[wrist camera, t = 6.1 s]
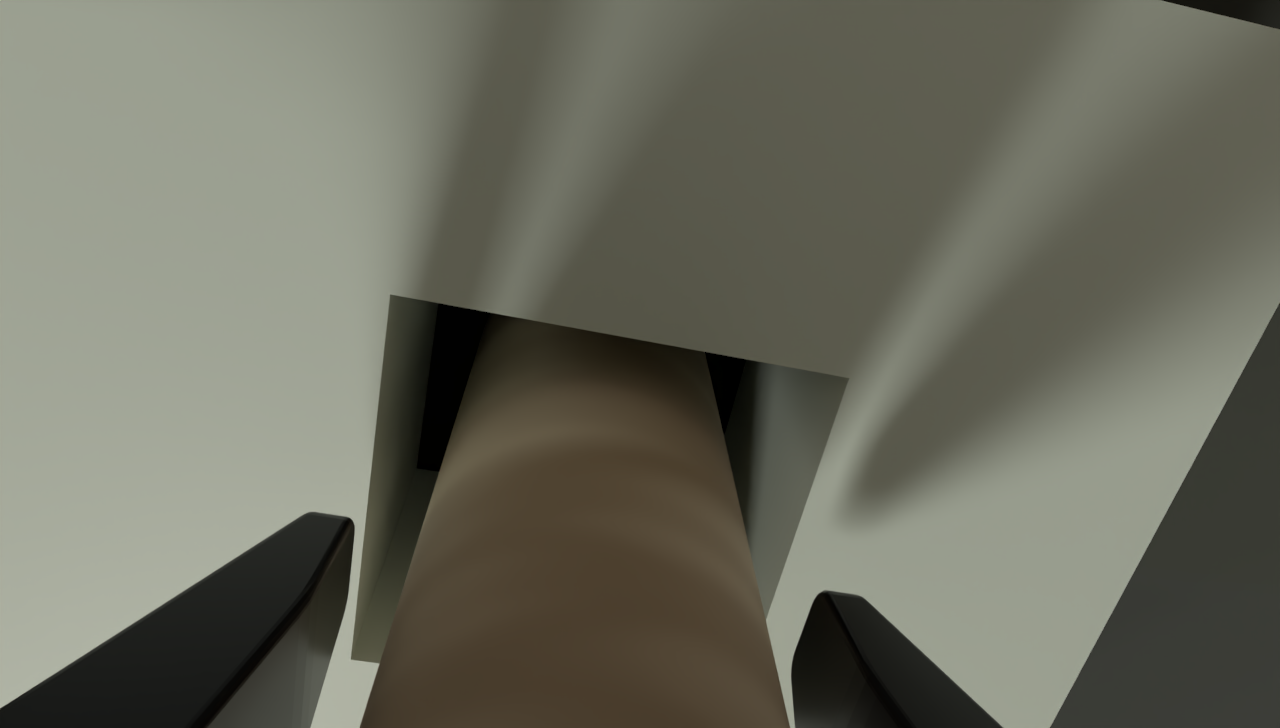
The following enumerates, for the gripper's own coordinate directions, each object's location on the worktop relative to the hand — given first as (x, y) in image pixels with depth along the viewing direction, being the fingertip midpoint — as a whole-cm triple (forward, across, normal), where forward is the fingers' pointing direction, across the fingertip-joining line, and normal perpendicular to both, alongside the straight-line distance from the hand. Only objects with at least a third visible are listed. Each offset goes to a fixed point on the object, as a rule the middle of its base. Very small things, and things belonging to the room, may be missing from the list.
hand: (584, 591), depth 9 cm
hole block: (+5, 0, 0) cm, 5 cm away
